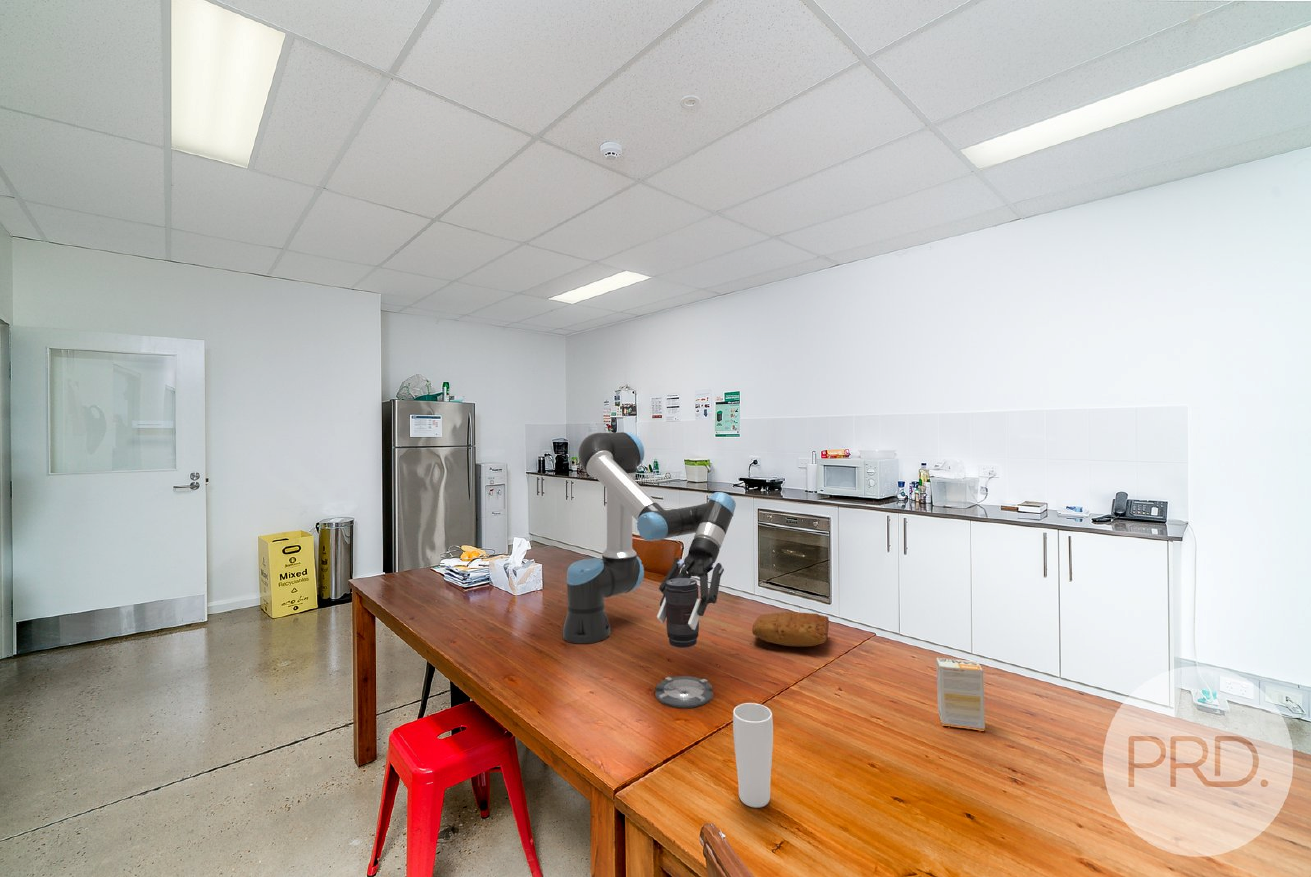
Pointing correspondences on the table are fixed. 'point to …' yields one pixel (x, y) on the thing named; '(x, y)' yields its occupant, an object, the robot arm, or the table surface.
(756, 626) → the bread loaf
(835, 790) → the table surface
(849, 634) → the table surface
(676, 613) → the camera lens
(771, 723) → the drinking glass
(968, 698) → the supplement box
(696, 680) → the mount plate
